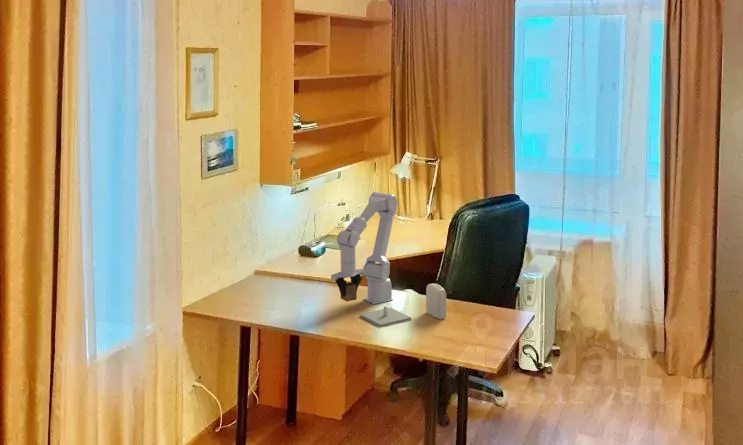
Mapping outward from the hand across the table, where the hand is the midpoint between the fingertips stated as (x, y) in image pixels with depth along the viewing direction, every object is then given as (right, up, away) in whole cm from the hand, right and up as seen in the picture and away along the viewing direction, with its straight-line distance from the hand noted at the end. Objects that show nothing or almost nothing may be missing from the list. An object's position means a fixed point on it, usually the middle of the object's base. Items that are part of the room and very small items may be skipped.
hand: (348, 295), depth 328 cm
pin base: (+14, -8, -6) cm, 17 cm away
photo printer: (+34, -8, -3) cm, 35 cm away
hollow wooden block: (0, -2, 0) cm, 2 cm away
